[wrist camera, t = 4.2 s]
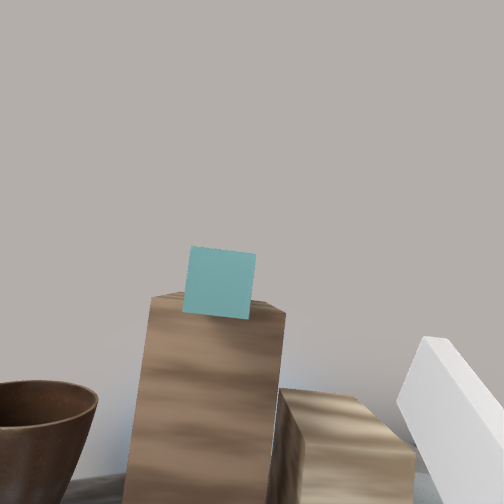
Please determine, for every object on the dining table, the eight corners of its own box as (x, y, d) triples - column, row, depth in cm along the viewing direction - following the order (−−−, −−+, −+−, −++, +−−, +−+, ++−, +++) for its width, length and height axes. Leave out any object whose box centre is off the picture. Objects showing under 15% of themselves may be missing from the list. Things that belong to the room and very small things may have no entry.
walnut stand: (259, 697, 27) (299, 315, 30) (78, 689, 26) (137, 296, 29) (246, 522, 47) (270, 302, 50) (142, 514, 46) (173, 290, 49)
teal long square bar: (249, 320, 21) (257, 253, 21) (181, 312, 21) (190, 244, 21) (237, 298, 49) (240, 269, 49) (208, 295, 48) (211, 266, 49)
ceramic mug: (461, 549, 47) (464, 489, 48) (403, 545, 46) (407, 484, 47) (417, 501, 57) (420, 452, 58) (369, 497, 57) (373, 448, 58)
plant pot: (99, 511, 46) (117, 388, 47) (24, 620, 31) (54, 435, 32) (-11, 496, 46) (11, 374, 48) (-137, 597, 31) (-99, 415, 33)
